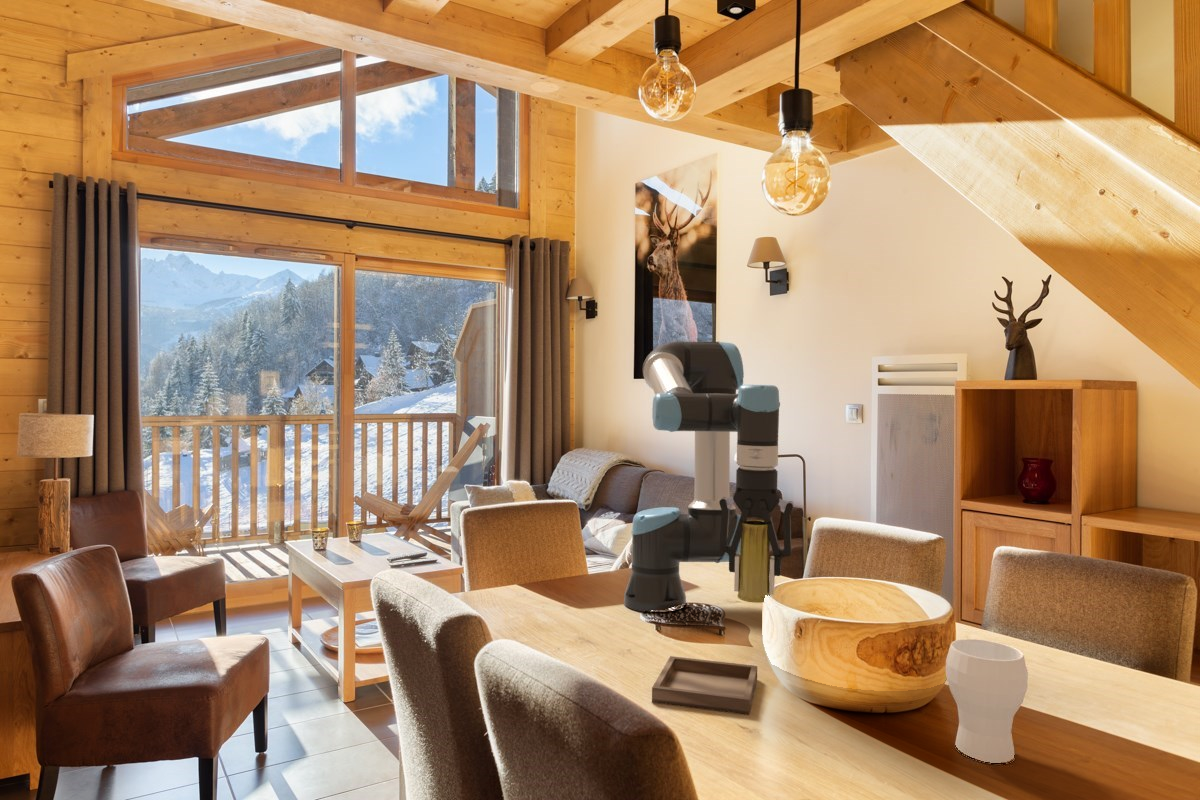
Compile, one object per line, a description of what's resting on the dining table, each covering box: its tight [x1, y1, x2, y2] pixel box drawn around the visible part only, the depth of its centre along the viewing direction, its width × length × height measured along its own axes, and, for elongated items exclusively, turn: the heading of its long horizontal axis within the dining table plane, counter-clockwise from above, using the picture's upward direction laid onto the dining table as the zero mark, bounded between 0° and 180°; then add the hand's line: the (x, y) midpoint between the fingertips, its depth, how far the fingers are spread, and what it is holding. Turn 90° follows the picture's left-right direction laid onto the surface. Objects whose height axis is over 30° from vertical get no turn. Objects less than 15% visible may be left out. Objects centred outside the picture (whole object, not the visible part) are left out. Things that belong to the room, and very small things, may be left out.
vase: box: [737, 519, 771, 604], centre depth 142 cm, size 6×6×14 cm
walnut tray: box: [651, 655, 758, 716], centre depth 132 cm, size 16×16×2 cm
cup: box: [945, 638, 1029, 764], centre depth 111 cm, size 11×11×15 cm
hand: (754, 590), depth 142 cm, fingers closed on vase, 6 cm apart
